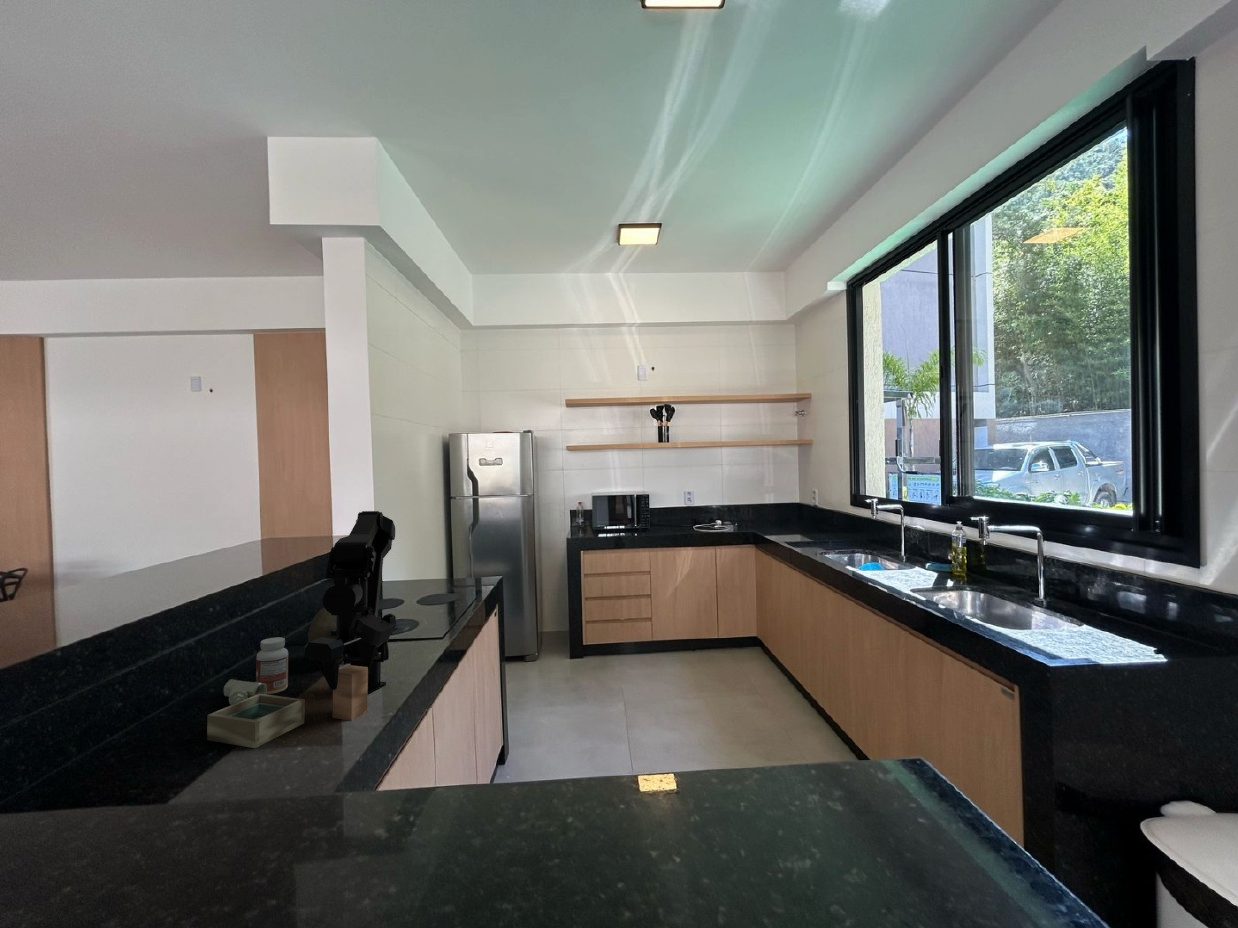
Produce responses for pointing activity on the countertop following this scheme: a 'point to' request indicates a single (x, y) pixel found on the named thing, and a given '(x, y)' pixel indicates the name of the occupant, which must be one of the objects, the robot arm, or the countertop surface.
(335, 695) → the peg
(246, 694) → the pipe fitting
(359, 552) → the robot arm
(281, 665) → the pill bottle
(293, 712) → the socket box
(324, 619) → the cantaloupe
